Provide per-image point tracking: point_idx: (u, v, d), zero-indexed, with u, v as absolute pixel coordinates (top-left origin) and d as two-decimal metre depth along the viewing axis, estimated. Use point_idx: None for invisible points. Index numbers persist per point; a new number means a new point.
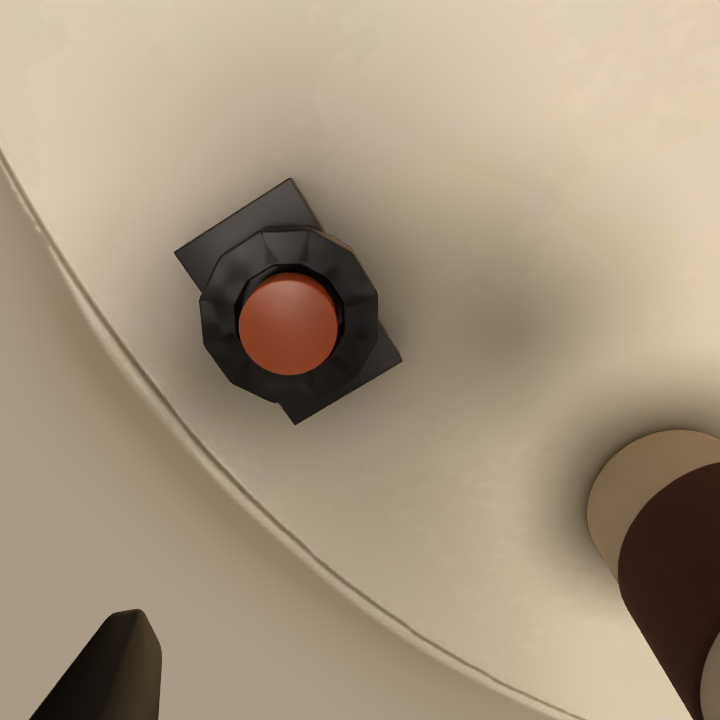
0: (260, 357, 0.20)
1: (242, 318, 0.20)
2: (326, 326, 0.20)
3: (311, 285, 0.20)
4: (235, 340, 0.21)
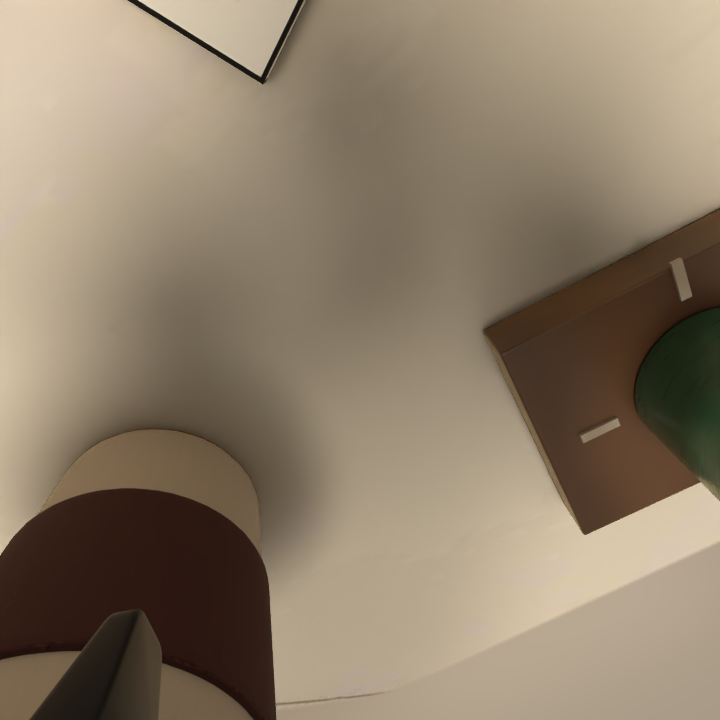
0: None
1: None
2: None
3: None
4: None
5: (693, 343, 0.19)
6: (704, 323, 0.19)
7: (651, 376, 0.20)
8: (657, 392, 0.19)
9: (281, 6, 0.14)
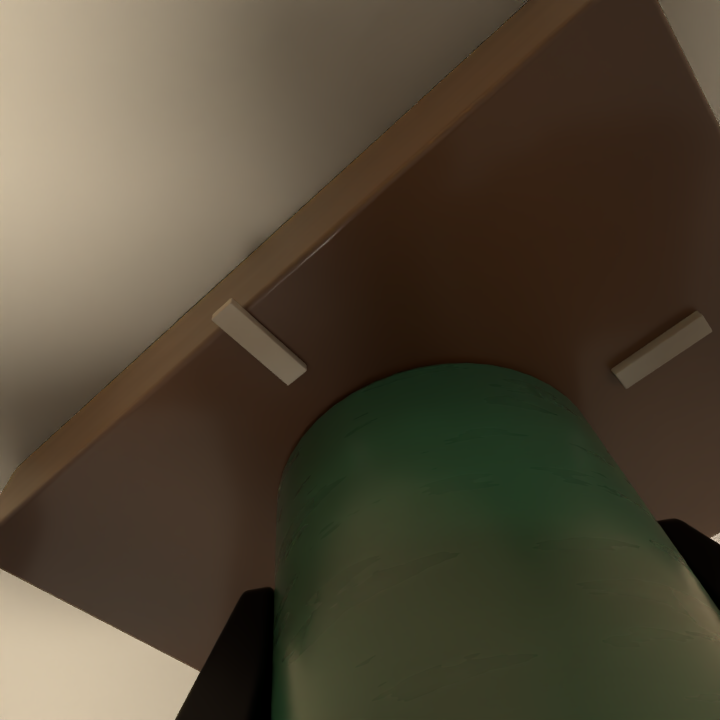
0: None
1: None
2: None
3: None
4: None
5: (302, 492, 0.08)
6: (335, 433, 0.08)
7: None
8: None
9: None
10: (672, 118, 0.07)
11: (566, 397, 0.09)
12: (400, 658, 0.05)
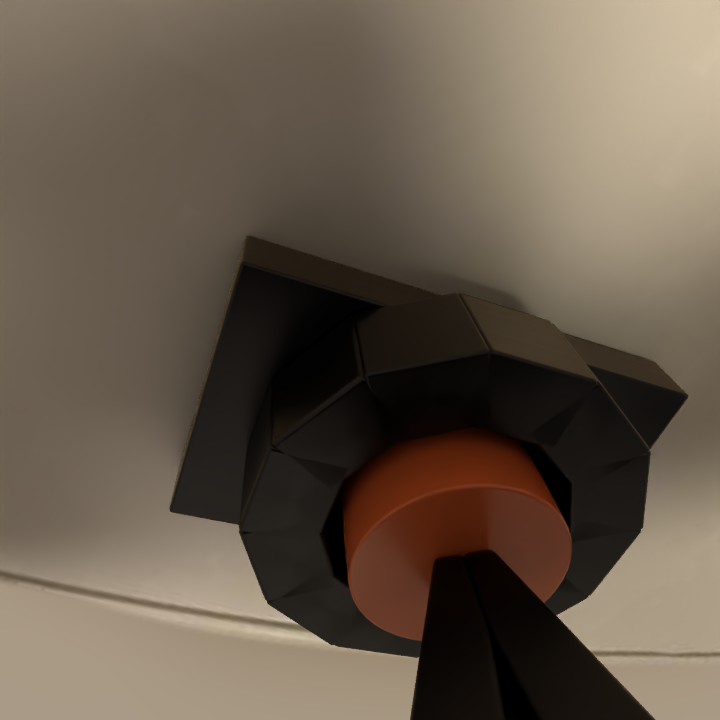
0: None
1: (365, 609, 0.09)
2: (535, 524, 0.08)
3: (450, 482, 0.08)
4: None
5: None
6: None
7: None
8: None
9: None
10: None
11: None
12: None
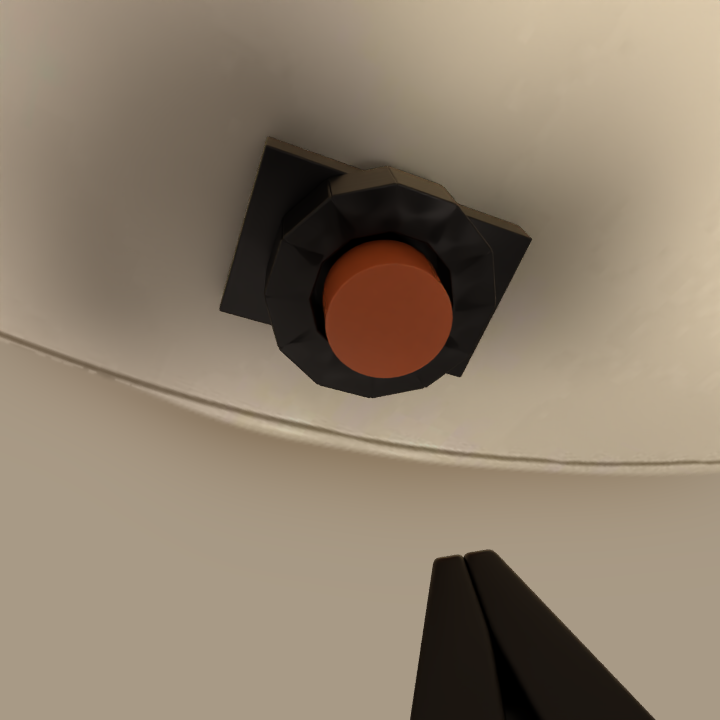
0: (382, 370, 0.16)
1: (335, 348, 0.15)
2: (428, 292, 0.15)
3: (380, 263, 0.14)
4: None
5: None
6: None
7: None
8: None
9: None
10: None
11: None
12: None
